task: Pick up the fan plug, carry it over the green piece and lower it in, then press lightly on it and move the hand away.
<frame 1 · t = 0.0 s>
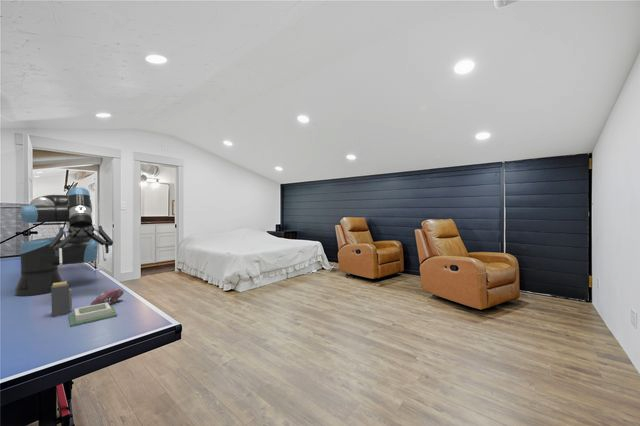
hand: (83, 262, 112), 15 cm above the table, tool tilted 35°, fingers open, 13 cm apart
video game controller: (108, 304, 107), on the table
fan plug: (60, 313, 98), on the table
green piece: (92, 316, 96), on the table
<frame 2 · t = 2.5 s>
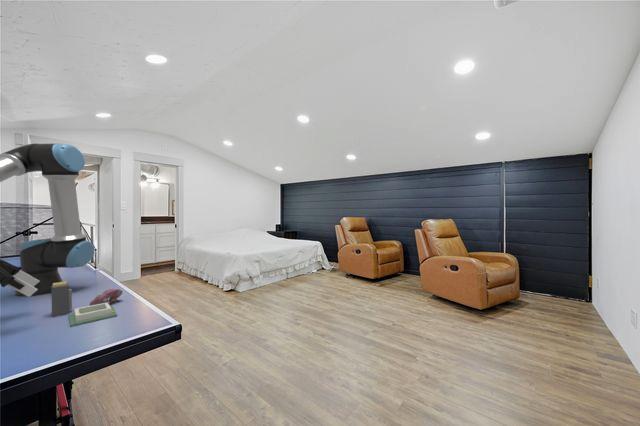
hand: (34, 288, 93), 10 cm above the table, tool tilted 45°, fingers open, 13 cm apart
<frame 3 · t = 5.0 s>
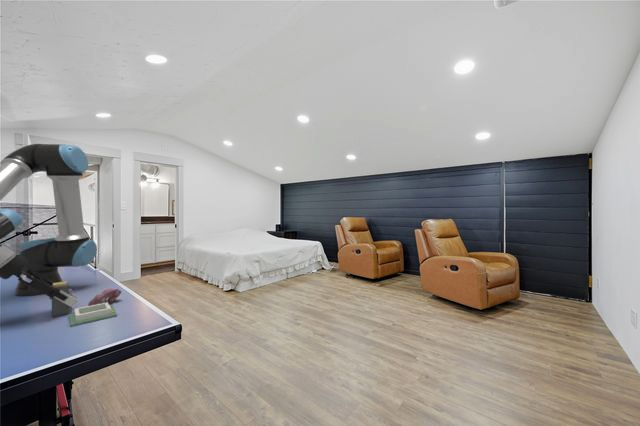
hand: (74, 301, 101), 3 cm above the table, tool tilted 45°, fingers closed on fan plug, 4 cm apart
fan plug: (60, 313, 98), on the table, touching gripper
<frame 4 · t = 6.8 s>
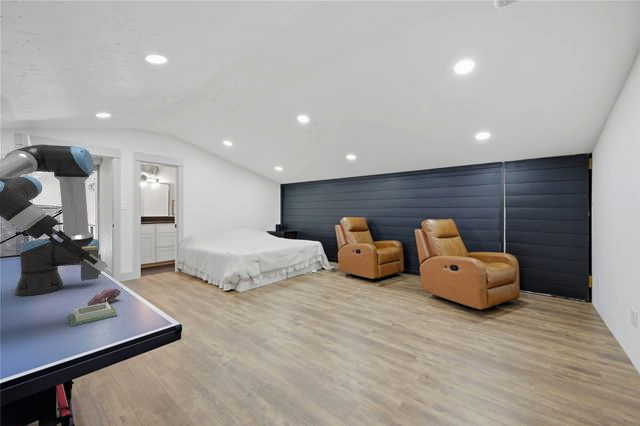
hand: (103, 267, 97), 17 cm above the table, tool tilted 45°, fingers closed on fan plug, 4 cm apart
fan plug: (89, 278, 95), point 13 cm above the table, touching gripper
when the fingers open (5 cm above the table, at t = 9.1 s): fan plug drops 2 cm, resting on green piece.
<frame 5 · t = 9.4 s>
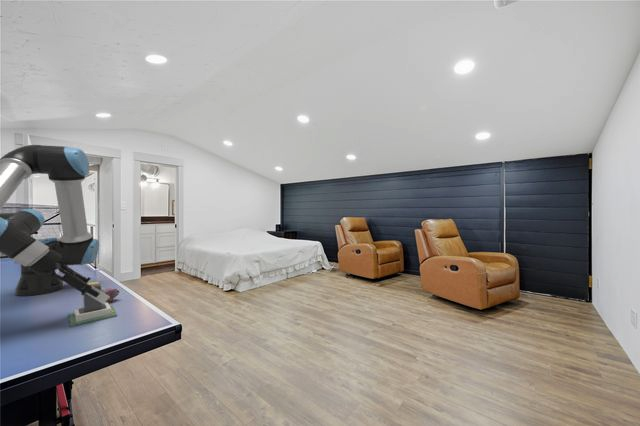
hand: (104, 296, 98), 6 cm above the table, tool tilted 45°, fingers open, 8 cm apart
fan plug: (92, 314, 96), point 1 cm above the table, touching green piece
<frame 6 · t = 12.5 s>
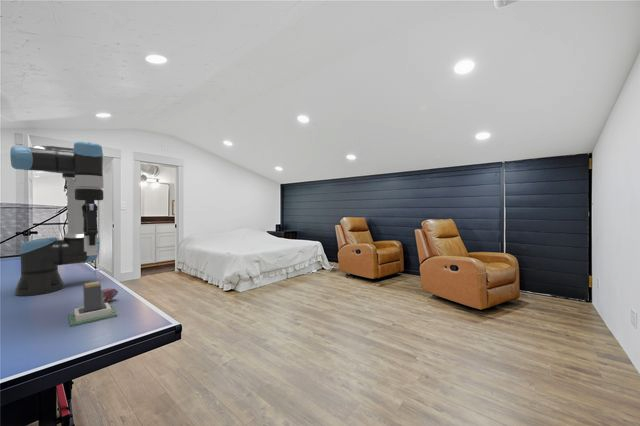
hand: (90, 253, 95), 22 cm above the table, tool pointing down, fingers open, 11 cm apart
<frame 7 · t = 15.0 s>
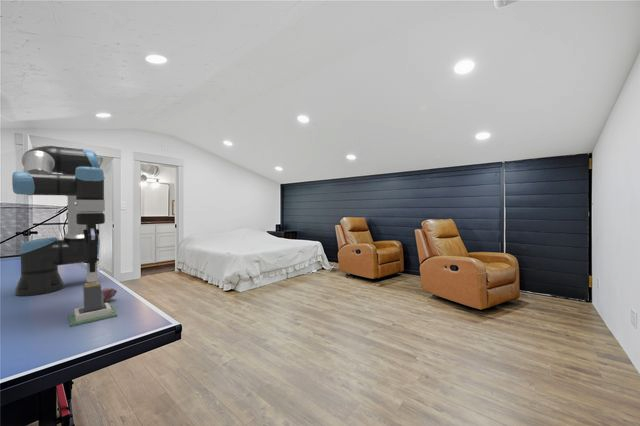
hand: (92, 280, 95), 12 cm above the table, tool pointing down, fingers closed
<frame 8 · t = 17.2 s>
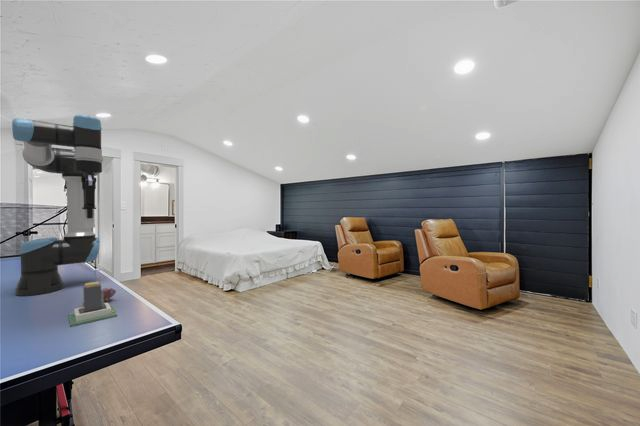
hand: (89, 227, 98), 30 cm above the table, tool pointing down, fingers closed
at the end: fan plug 0.1 cm off-centre on the green piece, point 0.6 cm above the green piece's base; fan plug tilted 0°; the gripper is holding nothing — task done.
